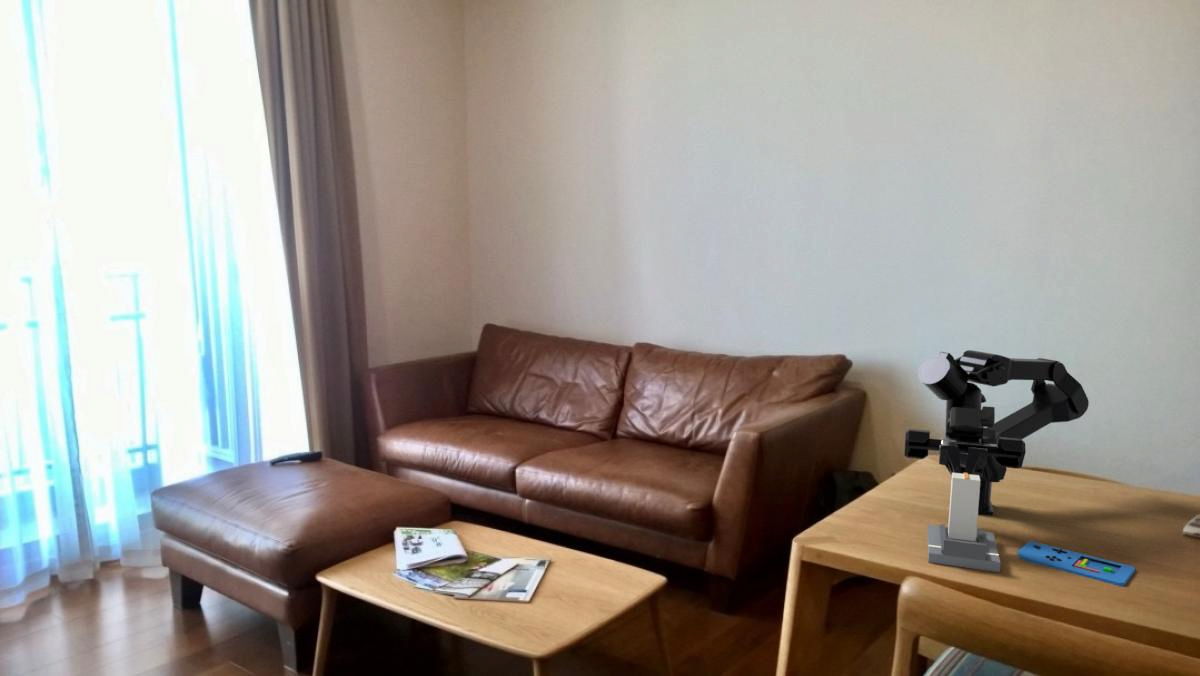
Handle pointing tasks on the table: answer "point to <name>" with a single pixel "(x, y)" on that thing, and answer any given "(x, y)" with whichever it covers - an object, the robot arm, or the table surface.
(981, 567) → the grey socket base
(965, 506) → the grey upright block
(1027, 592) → the table surface
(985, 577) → the table surface
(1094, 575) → the handheld gaming device
